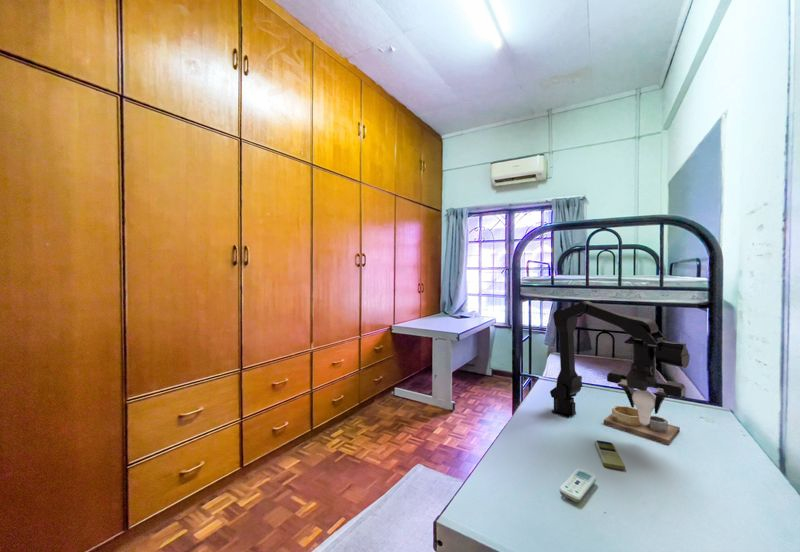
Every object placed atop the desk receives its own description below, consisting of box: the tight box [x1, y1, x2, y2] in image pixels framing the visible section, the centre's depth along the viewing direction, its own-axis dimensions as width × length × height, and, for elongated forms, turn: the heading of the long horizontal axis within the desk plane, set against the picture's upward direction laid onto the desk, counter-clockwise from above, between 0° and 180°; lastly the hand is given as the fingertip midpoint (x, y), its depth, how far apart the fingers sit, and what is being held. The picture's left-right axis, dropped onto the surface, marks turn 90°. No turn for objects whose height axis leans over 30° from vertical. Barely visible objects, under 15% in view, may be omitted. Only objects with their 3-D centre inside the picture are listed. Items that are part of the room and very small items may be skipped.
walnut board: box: [603, 413, 681, 446], centre depth 110 cm, size 18×13×2 cm
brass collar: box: [611, 405, 643, 426], centre depth 112 cm, size 9×9×3 cm
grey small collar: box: [646, 415, 669, 432], centre depth 106 cm, size 5×5×3 cm
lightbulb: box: [632, 389, 656, 425], centre depth 100 cm, size 6×6×11 cm
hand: (644, 410), depth 100 cm, fingers closed on lightbulb, 6 cm apart
